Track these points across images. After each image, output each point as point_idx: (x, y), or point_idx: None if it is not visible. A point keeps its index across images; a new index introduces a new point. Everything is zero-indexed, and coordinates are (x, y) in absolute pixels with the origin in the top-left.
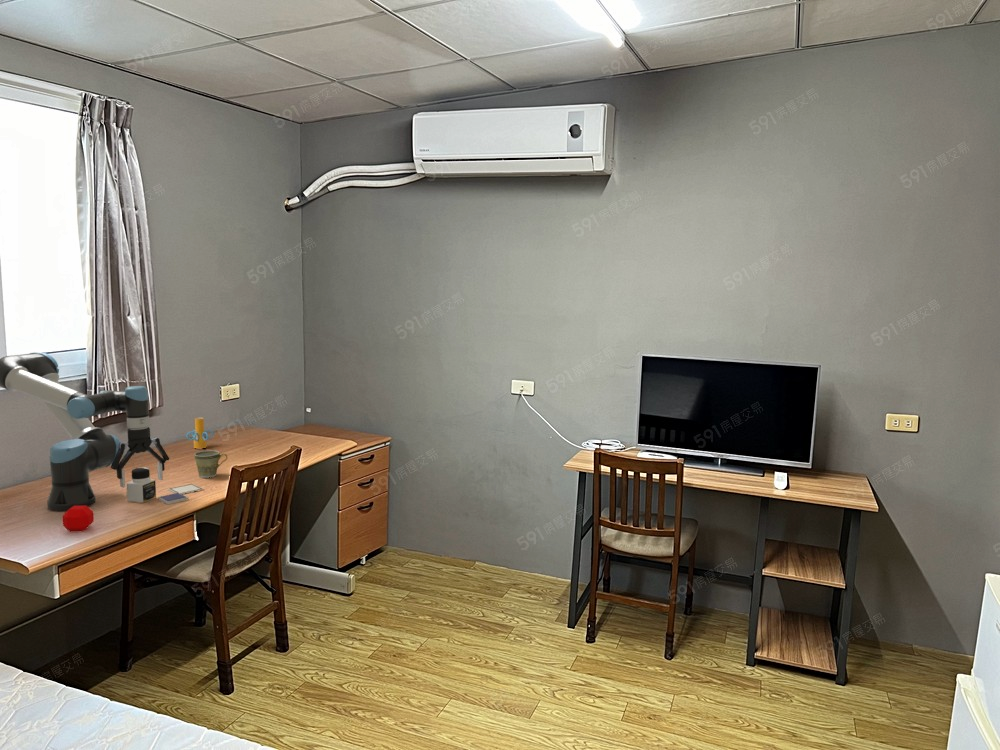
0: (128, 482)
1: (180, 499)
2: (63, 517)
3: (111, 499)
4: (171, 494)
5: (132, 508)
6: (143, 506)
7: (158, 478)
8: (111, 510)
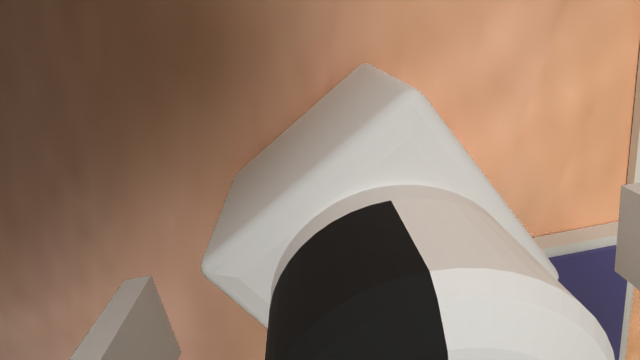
0: (225, 266)
1: None
2: None
3: (101, 25)
4: (570, 263)
5: (248, 357)
6: None
7: (627, 211)
8: None
